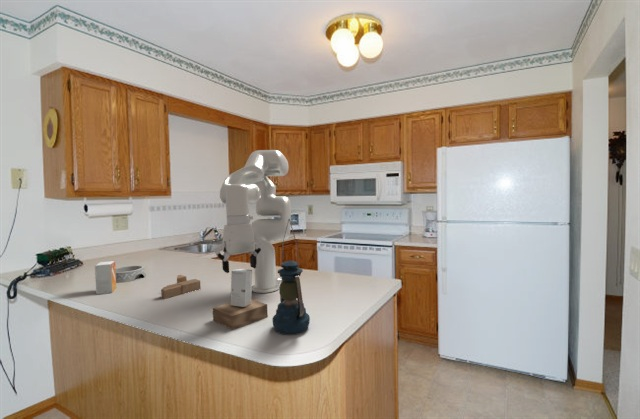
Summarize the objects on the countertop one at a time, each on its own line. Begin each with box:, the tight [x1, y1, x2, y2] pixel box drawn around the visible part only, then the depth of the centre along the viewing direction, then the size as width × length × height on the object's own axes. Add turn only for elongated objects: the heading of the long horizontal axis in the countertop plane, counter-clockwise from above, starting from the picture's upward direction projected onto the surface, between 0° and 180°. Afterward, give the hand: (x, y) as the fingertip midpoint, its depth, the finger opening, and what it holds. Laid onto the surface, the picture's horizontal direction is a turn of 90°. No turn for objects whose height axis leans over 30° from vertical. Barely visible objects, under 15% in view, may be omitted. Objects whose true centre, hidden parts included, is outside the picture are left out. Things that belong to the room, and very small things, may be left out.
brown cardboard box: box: [212, 298, 269, 331], centre depth 113 cm, size 14×12×5 cm
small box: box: [94, 260, 117, 295], centre depth 149 cm, size 8×6×13 cm
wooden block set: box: [160, 274, 202, 300], centre depth 148 cm, size 17×6×18 cm
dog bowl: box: [115, 265, 147, 284], centre depth 172 cm, size 17×18×5 cm
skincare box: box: [230, 268, 253, 307], centre depth 113 cm, size 6×4×12 cm
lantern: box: [272, 219, 311, 336], centre depth 103 cm, size 14×12×35 cm
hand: (240, 269), depth 113 cm, fingers open, 9 cm apart
